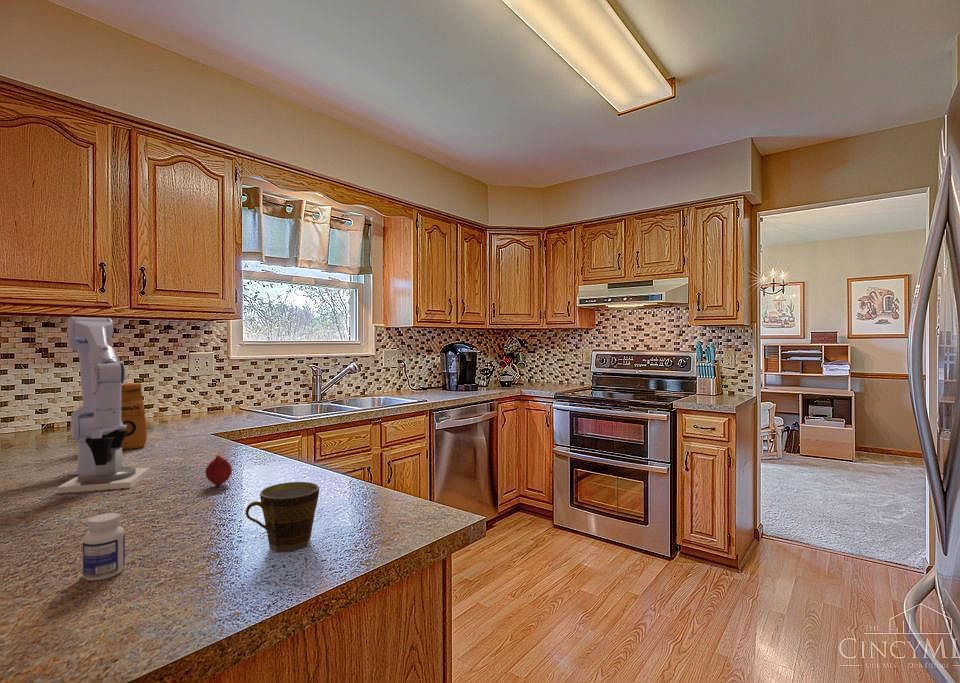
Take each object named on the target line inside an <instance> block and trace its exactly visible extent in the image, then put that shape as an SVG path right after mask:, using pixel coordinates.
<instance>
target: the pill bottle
mask: <svg viewBox="0 0 960 683" xmlns="http://www.w3.org/2000/svg"><path fill="white" fill-rule="evenodd" d="M120 523H121V517H120V514H119V513H118V512H116V513H114V512H110V513H109V512H108V513H101V514H97V515H95V516H92V517H89V519H88V520H87V530H88V532H87V533H86V534H84V536H83V538H82V578H83V579H85V580H87V581H93V582H95V581H101V580H106V579H110V578H112V577H114V576H117V575H118V574H120V573H122V572H123V571H124V570H125V568H126V544H125V543H126V532H125V529H124V528H123V527H122V526H119V525H120Z"/></svg>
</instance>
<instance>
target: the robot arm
mask: <svg viewBox="0 0 960 683" xmlns="http://www.w3.org/2000/svg"><path fill="white" fill-rule="evenodd" d="M66 327H67V328H66V329H67V342H68V344H69V345H68V346H69V349H73V350H75V351H76V352H77V355H78V356H77V357H78V359H79V370H80V372H79V373H80V385H81V398H82V399H81V400H82V405H81V406H80V407H78V408H77V409H75V410H74V411H73V412H72V413H71V416H70V436H71V439H72V440H74V441H76V442H77V469H76V470H75V471H73V472H71V473H70V476H78V475H80V474H82V473H84V472H87V471H92V470H95V464H96V466H97V465H106V464H107V461H108V456H109V450H110V448H118V447H121V446H122V443H123V440H124V438H125V436H126V434H127V433H128V430H121V429H123V428H126V427H127V425H123V422H121V385H123V384H125V378H126V376H125V375H126V371H125V370H126V369H125V365H124V362H123V361H121V360H118V358H117V355H116V352H115V349H114V348H113V347H112V346H110V343H111V339H112V337H113V334H114V322H113V320H112V319H111V318H110V317H85V316H84V317H80V316H70V317H69V318H68V319H67V326H66Z"/></svg>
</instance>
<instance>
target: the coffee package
mask: <svg viewBox="0 0 960 683" xmlns="http://www.w3.org/2000/svg"><path fill="white" fill-rule="evenodd" d="M144 405H145V403H144V400H143V392H142V383H138V384H131V385H123V384H121V422H123V425H127V427H126V428H123V429H121V430H128V433H127V434H126V436H125V438H124V440H123V443H122V446H121V447H122V449H124V450H133V448H134V449H139V448H140V449H141V448H142V447H144V448H145V445H146V443H147V440H148V427H147V425H148V424H147V419H146V416H145V415H146V414H145V412H146V411H145V408H144Z"/></svg>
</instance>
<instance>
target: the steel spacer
mask: <svg viewBox="0 0 960 683" xmlns="http://www.w3.org/2000/svg"><path fill="white" fill-rule="evenodd" d="M122 467H123V450H122V447H118V448H110V450H109V456H108V461H107V464H106V465H97V466H96V464H95V475H110V474H116V473H118V472H119V471H121V470H122Z"/></svg>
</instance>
